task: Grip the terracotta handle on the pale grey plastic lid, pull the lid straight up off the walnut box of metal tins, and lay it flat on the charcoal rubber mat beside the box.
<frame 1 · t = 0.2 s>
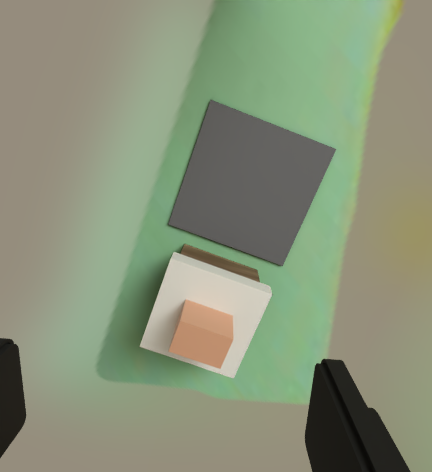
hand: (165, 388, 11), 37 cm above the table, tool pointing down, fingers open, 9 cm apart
box: (207, 290, 50), on the table
mat: (248, 187, 46), on the table
lid: (205, 311, 44), point 6 cm above the table, touching box
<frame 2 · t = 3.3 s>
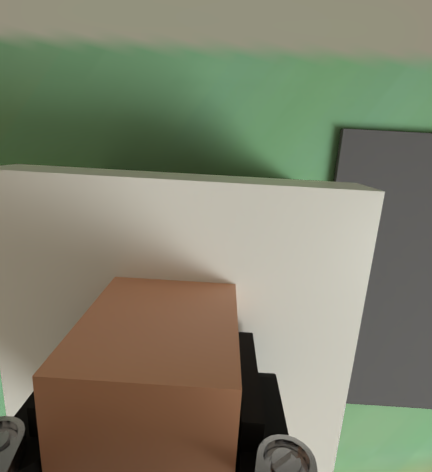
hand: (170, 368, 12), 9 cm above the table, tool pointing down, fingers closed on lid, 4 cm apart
lid: (181, 325, 14), point 7 cm above the table, touching box, gripper
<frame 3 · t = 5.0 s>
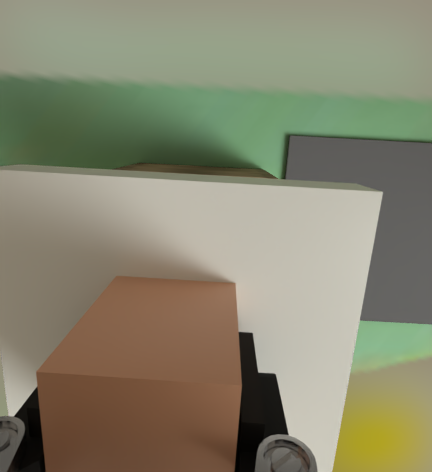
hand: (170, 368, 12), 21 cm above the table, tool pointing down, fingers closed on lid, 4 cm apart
box: (199, 226, 32), on the table
mat: (370, 235, 32), on the table
lid: (182, 324, 14), point 18 cm above the table, touching gripper
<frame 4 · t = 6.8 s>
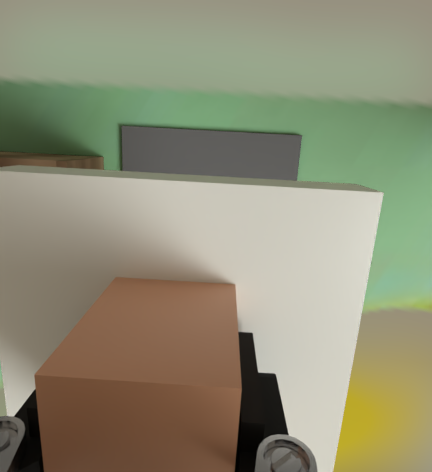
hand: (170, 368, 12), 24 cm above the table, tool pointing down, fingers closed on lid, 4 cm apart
box: (51, 209, 35), on the table
mat: (207, 217, 35), on the table
lid: (181, 325, 14), point 21 cm above the table, touching gripper
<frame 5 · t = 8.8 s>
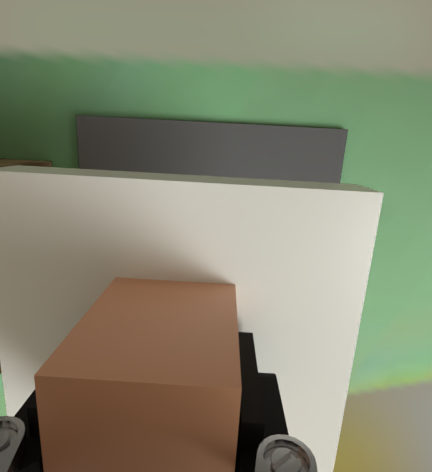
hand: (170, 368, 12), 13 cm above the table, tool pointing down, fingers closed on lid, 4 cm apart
mat: (205, 249, 24), on the table
lid: (181, 325, 14), point 10 cm above the table, touching gripper
when the fingers open (5 cm above the table, at t = 10.7 s): lid drops 1 cm, resting on mat.
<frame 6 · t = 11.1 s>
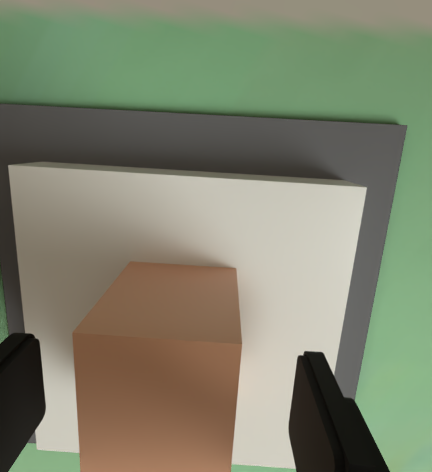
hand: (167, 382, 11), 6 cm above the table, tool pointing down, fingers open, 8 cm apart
mat: (186, 303, 16), on the table
lid: (187, 308, 16), resting on mat
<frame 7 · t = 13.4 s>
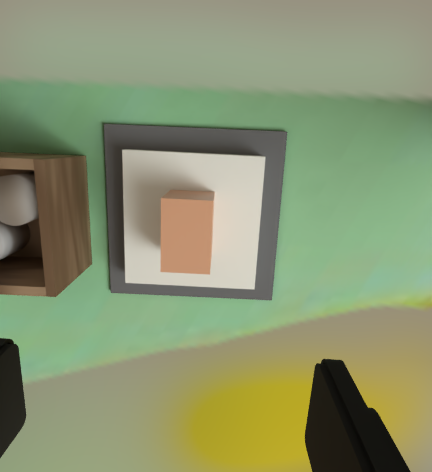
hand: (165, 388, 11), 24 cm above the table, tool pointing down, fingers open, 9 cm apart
box: (34, 209, 34), on the table
mat: (193, 216, 34), on the table
lid: (193, 217, 34), resting on mat
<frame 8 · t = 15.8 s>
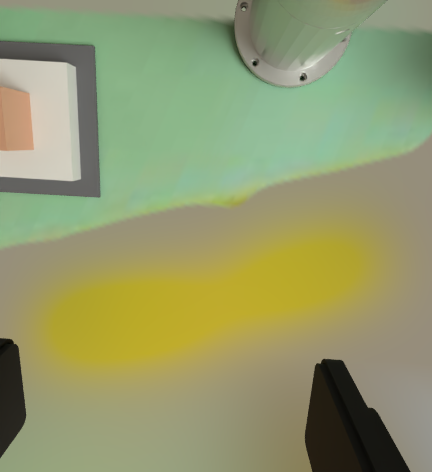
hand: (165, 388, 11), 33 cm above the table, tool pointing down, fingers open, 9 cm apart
mat: (27, 122, 41), on the table
lid: (25, 122, 40), resting on mat
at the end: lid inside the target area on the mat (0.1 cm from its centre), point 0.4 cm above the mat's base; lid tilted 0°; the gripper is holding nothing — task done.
